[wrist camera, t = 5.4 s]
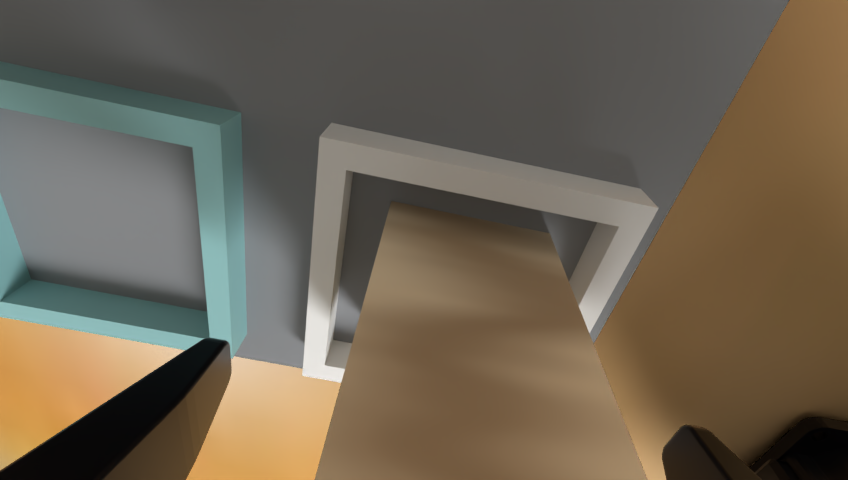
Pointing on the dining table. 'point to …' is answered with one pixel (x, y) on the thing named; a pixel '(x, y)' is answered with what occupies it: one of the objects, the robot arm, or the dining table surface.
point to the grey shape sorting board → (336, 150)
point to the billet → (472, 364)
